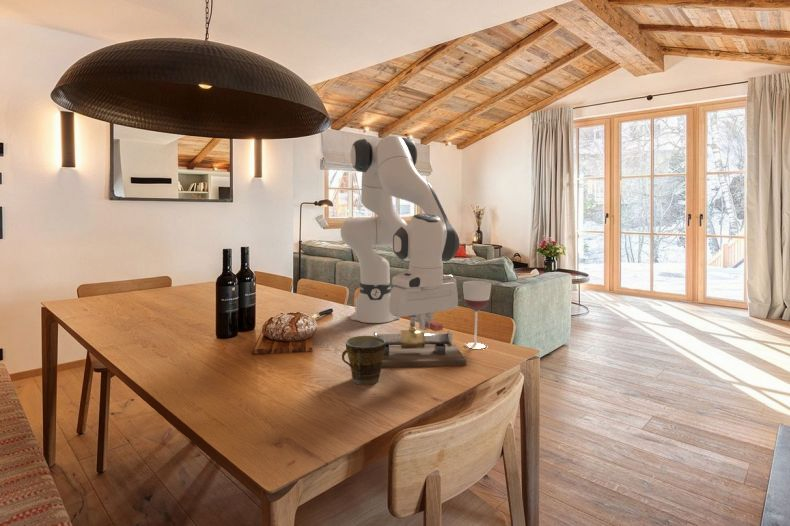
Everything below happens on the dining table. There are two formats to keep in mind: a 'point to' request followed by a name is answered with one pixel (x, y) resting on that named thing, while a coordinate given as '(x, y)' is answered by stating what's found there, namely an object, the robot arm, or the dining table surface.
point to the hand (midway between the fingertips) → (424, 329)
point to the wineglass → (476, 302)
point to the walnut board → (423, 357)
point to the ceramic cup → (365, 358)
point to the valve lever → (433, 325)
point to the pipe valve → (417, 340)
